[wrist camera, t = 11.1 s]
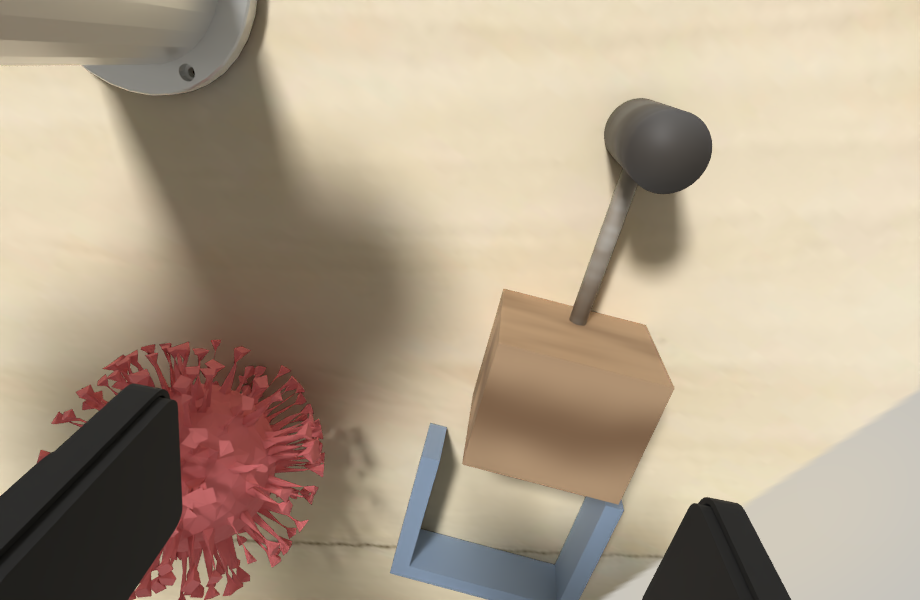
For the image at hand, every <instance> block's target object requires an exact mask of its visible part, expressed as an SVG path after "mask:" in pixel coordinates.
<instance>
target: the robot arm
mask: <svg viewBox="0 0 920 600" xmlns="http://www.w3.org/2000/svg"><path fill="white" fill-rule="evenodd" d="M256 6H257V0H0V66H50V65H81V66H83V67H84V68H85V69H86V70H87V71H89V72H90V73H92V74H94V75H95V76H97V77H99V78H100V79H102V80H104V81H105V82H107V83H109V84H111V85H114V86H116V87H119V88H122V89H124V90H127V91H130V92H134V93H140V94H145V95H151V96H154V95H174V94H180V93H187V92H191V91H194V90H196V89H199V88H201V87H204V86H206V85H208V84H210V83H211V82H213V81H214V80H215V79H217V78H218V77H220V76H221V75H222V74H224V73H225V72H226V71H227V69H228V68H229V67H230V66H231V65H232V64H233V63H234V61H235V60H236V59H237V58H238V56H239V54H240V53H241V51H242V49H243V47H244V45H245V43H246V42H247V40H248V38H249V35H250V31H251V28H252V25H253V22H254V18H255V15H256ZM193 69H194V72H195V76H194V75H193V72H192V71H193ZM182 507H183V506H182V484H181V462H180V441H179V419H178V404H177V402H176V401H175V400H172V399H170V395H169V393H168V391H167V390H165V389H160V388H155V387H150V386H145V385H140V384H135V383H133V384H129V385H128V386H127V387H125V388H124V389H123V390H122V391H121V392H120V393H118V394H117V395H116V396H115V397H114V398H113V399H112V400H111V401H110V402H108V403H107V404H106V405H105V406H104V407H103V408H102V409H101V410H100V411H99V412H97V413H96V414H95V415H94V416H93V417H92V418H91V419H90V420H89V421H88V422H86V423H85V424H84V425H83V426H82V427H81V428H80V429H79V430H78V431H77V432H75V433H74V434H73V435H72V436H71V437H70V438H69V439H68V440H67V441H65V442H64V443H63V444H62V445H61V446H60V447H59V448H58V449H57V450H56V451H54V452H52V453H50V454H48V455H47V456H46V457H44V458H43V459H41V460H40V461H39V462H38V463H37V464H36V465H35V466H34V467H32V468H31V469H30V470H29V471H28V472H27V473H26V474H25V475H24V476H22V477H21V478H20V479H19V480H18V481H17V482H16V483H15V484H14V485H12V486H11V487H10V488H9V489H8V490H7V491H6V492H5V493H3V494H2V495H1V496H0V600H128V599H129V597H130V596H131V594H132V593H133V591H134V590H135V589H136V587H137V586H138V584H139V583H140V581H141V580H142V578H143V577H144V575H145V574H146V572H147V571H148V569H149V568H150V566H151V565H152V563H153V562H154V560H155V559H156V557H157V556H158V554H159V553H160V551H161V550H162V549H163V547H164V546H165V544H166V543H167V541H168V540H169V538H170V537H171V535H172V534H173V532H174V531H175V529H176V527H177V525H178V523H179V521H180V518H181V514H182ZM642 600H791V598H790V597H789V595H788V593H787V591H786V589H785V587H784V585H783V583H782V582H781V579H780V577H779V575H778V574H777V572H776V570H775V568H774V566H773V564H772V562H771V560H770V558H769V556H768V555H767V553H766V551H765V549H764V547H763V545H762V543H761V541H760V539H759V537H758V535H757V533H756V531H755V529H754V527H753V526H752V524H751V522H750V520H749V518H748V516H747V514H746V512H745V510H744V509H743V508H742V506H741V505H739V504H738V503H734V502H729V501H724V500H719V499H713V498H708V497H705V498H703V499H701V501H700V502H699V503H698V504H695V503H693V504H692V505H691V506H690V507H689V509H688V511H687V512H686V514H685V516H684V518H683V520H682V522H681V524H680V526H679V528H678V530H677V532H676V534H675V536H674V538H673V540H672V542H671V544H670V546H669V547H668V549H667V551H666V553H665V555H664V557H663V559H662V561H661V563H660V565H659V567H658V569H657V571H656V573H655V575H654V577H653V579H652V581H651V582H650V584H649V586H648V588H647V590H646V592H645V594H644V596H643V599H642Z"/></svg>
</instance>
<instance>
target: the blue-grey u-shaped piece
mask: <svg viewBox="0 0 920 600" xmlns="http://www.w3.org/2000/svg"><path fill="white" fill-rule="evenodd" d="M446 429H447V427H444V426H440V425H436V424H432V423H430V426H429V430H428V433H427V437H426V441H425V444H424V448H423V452H422V456H421V459H420V463H419V467H418V470H417V474H416V478H415V481H414V485H413V489H412V492H411V496H410V500H409V504H408V507H407V511H406V515H405V518H404V522H403V526H402V529H401V533H400V537H399V541H398V544H397V548H396V552H395V556H394V560H393V564H392V567H391V571H390V573H391V574H395V575H398V576H402V577H406V578H410V579H413V580H417V581H421V582H425V583H428V584H432V585H436V586H440V587H443V588H447V589H451V590H454V591H458V592H462V593H466V594H469V595H473V596H477V597H481V598H484V599H488V600H579V598H580V596H581V595H582V593H583V591H584V589H585V587H586V585H587V583H588V581H589V579H590V577H591V575H592V573H593V571H594V569H595V567H596V565H597V563H598V561H599V559H600V557H601V555H602V553H603V551H604V549H605V547H606V545H607V543H608V541H609V539H610V537H611V535H612V533H613V531H614V529H615V527H616V525H617V523H618V521H619V519H620V517H621V515H622V513H623V511H624V509H623V504H622V500H621V501H620V503H619V505H618V504H614V503H610V502H606V501H602V500H598V499H594V498H591V497H587V496H586V497H585V500H584V502H583V504H582V506H581V508H580V511H579V513H578V515H577V517H576V519H575V522H574V524H573V526H572V528H571V530H570V533H569V535H568V537H567V539H566V541H565V544H564V546H563V548H562V550H561V552H560V555H559V557H558V559H557V561H556V563H555V565H554V564H550V563H546V562H543V561H539V560H535V559H531V558H528V557H524V556H520V555H516V554H513V553H509V552H505V551H502V550H498V549H494V548H490V547H487V546H483V545H479V544H475V543H472V542H468V541H464V540H461V539H457V538H453V537H449V536H446V535H442V534H438V533H434V532H431V531H427V530H423V529H420V527H421V524H422V521H423V517H424V514H425V510H426V507H427V503H428V500H429V496H430V493H431V490H432V486H433V483H434V479H435V476H436V472H437V469H438V466H439V462H440V458H441V453H442V448H443V444H444V439H445V434H446Z"/></svg>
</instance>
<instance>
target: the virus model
mask: <svg viewBox="0 0 920 600" xmlns="http://www.w3.org/2000/svg"><path fill="white" fill-rule="evenodd" d="M211 342H212V345H213V347H214V350H215V351H216V349H217V347H218V346H219V344H220V343H221V340H211ZM160 346H161V347H162V350H163V351H164V353H165V355H166V358H167V360H168V362H169V364H170V378H171V388H170V387H168V385H167V383H166V381H165V379H164V377H163V375H162V373H161V371H160V368H159V366H158V364H157V356H158V353H154V350H155V344H154V345H148V346H144V347H141V350H143V351H145V352H147V353H148V355H145V356H146V357H147V358H148V360H149V361H150V362H151V363H152V365H153V366H154V367H155V370H156V372H157V374H158V377H159V380H160V384H161V387H162V389H165V390H167V391H168V393H169V395H170V399H172V400H175V401H176V402H177V404H178V419H179V441H180V462H181V484H182V506H183V507H182V514H181V518H180V521H179V523H178V525H177V527H176V529H175V531H174V532H173V534H172V535H171V537H170V538H169V540H168V541H167V543H166V544H165V546H164V547H163V549H162V550H161V551H160V553H159V554H158V556H157V557H156V559H155V560H154V562H153V563H152V565H151V566H150V568H149V569H148V571H147V572H146V574H145V575H144V577H143V578H142V580H141V581H140V583H141V584H140V583H139V584H140V585H139V586H138V587H137V589H136V590H134V591H133V593H132V594H131V596H130V597H129V599H128V600H133V599H136V596H137V597H148V596H151V589H152V590H153V591H154V592H155V593H158V592H160V591H162V590H164V589H166V586H165V585H173V584H174V582H175V580H176V577H175V576H174V574H173V573H172V571H171V570H173V567H172V563H173V561H174V559H175V560H177V557H178V558H179V560H182V567H183V575H182V583H181V590H180V598H179V599H178V600H186V599H185V597H184V595H191V596H190V597H197V598H203V595H204V587H203V586H202V585H201V584H200V583H201V581H200V578H199V572H198V571H197V567H198V563H199V560H200V556H201V553H202V549H203V553H204V558H205V563H206V568H207V572H208V577H209V581H208V583H207V586H206V587H209V589H208V591H207V593H206V596H205V598H204V600H207V599H211V598H213V597H216V596H218V595H220V594H219V593H218V592H217V590H216V589H215V588H214V587H215V585H216V583H217V582H219V580H220V579H221V578H222V576H221V575H222V574H225V572H226V576H227V581H228V582H227V585H226V588H225V591H224V594H223V596H230V595H232V594H233V593H234V592H235V591H236V590H238V589H239V588H241V587H243V582H247V581H250V575H249V574H248V573H246V572H245V571H244V570H243V569H241V568H240V567H239V565H240V560H239V559H237V557H236V552H235V548H234V544H233V539H232V535H234V534H237V532H238V534H239V533H243V532H247V533H248V534H249V535H250V536H251V537H252V538H253V539H254V540H255V541H256V542H257V543H258V544H259V545H260V546H261V547H262V548H263V549H264V550H265V551H266V553H267V555H268V558H269V561H270V564H271V567H274V566H275V565H277V564H278V563H279V562H281V558H280V556H278V554H279V553H280V551H282V553H283V556H284V554H285V553H286V554H287V552H288V550H289V549H290V547H291V545H292V544H291V543H292V541H290V540H288V539H285V538H283V537H280V536H278V535H277V534H276V533H275V532H274V530H273V529H272V528H271V527H270V526H268V524H267V523H266V522H265V521H264V520H263V519H262V518H261V517H260V516H259V515H258V514H257V512H259V513H261V514H263V515H264V516H266V517H268V518H270V519H271V520H273V521H275V522H277V523H278V524H280V525H281V526H283V525H282V524H281V523H280V522H279V521H278V520H277V519H276V518H275V517H274V516H273V515H272V514H271V513H270V512H269V511H273V512H276V513H280V514H283V515H287V516H288V517H290V518H291V519H292V520H294V521H295V524H296V526H297V528H298V530H299V533H300V531H301V530H302V528H303V527H304V526H305V524H306V523H307V522H308V520H305V521H302V522H300V521H298V520H296V519H294V518H292V517H291V516H290V512H291V509H292V506H293V505H292V503H291V501H290V500H288V498H289V496H290V497H291V498H293V499H297V496H298V497H304V498H305V499H306V500H307V501H308V502H309V503H310V504H311V505H312V502H313V498H314V496H313V495H315V493H316V491H317V490H318V487H316V486H308V485H307V486H306V487H304V488H303V489H302V490H301V491H299V490H296V489H294V488H291V487H303V486H299V485H296V484H294V483H291V482H288V481H285V480H282V479H279V478H276V477H274V475H275V473H281V472H296V471H305V470H309V469H310V470H311V471H313V472H315V473H316V474H318V475H320V476H321V477H323V471H324V464H322V465H320V464H321V463H324V458H325V452H324V453H321V451H322V445H323V444H322V443H321V442H320V441H319V438H320V439H323V435H322V430H321V425H320V421H319V419H317V420H315V421H314V419H313V415H312V414H314V413H313V410H312V407H311V404H307V405H306V406H305V407H304V409H303V410H302V411H301V412H300V413H298V414H294V415H291V416H288V417H286V418H285V419H283V420H281V421H279V422H278V423H276V424H274V425H269V423H270V421H271V420H272V419H273V418H274V417H276V416H277V415H279V414H280V413H282V412H283V411H285V410H287V409H288V408H290V407H291V406H293V405H301V404H304V403H305V402H307V401H306V399H305V398H304V396H303V394H302V392H305V390H304V389H303V387H302V386H301V384H300V383H299V384H298V382H297V381H296V379H295V378H294V377H293V376H291V377H290V379H289V380H288V382H287V383H286V384H284V385H283V386H282V387H281V388H280V389H278V390H277V391H276V392H275V393H274V394H272V395H271V396H269V397H267V398H266V399H264V400H262V401H260V402H258V400H259V398H260V397H262V396H263V395H262V394H263V392H264V391H265V390H266V389H267V388H268V387H269V386H270V385H271V384H270V385H269V386H268V380H267V375H266V376H262V377H260V376H261V375H262V374H263V373H264V371H265V369H266V367H263V366H257V367H256V368H254V367H253V366H248V367H245V372H244V376H239V381H240V384H239V386H238V387H237V389H236V390H235V391H233V390H231V388H232V384H233V379H234V375H235V371H236V362H237V361H239V360H240V359H241V358H242V357H244V356H245V355H246V354H247V353H248V352H250V351H251V350H249V349H246V348H244V347H242V346H241V347H237V348H234V366H233V367H232V369H231V371H230V372H229V374H228V376H227V378H226V379H225V381H224V383H223V385H222V386H220V385H219V383H218V382H217V381H215V382H213V378H214V377H215V376H216V374H217V372H218V371H220V370H221V369H223V368H224V367H226V366H224V365H222V364H220V363H219V362H217V361H215V360H214V359H212V360H210V361H208V362H207V363H205V365H206V366H207V367H208V368H200V361H201V360H202V359H203V358H204V357H205V355H206V354H207V353H208V352H209V350H206V349H203V348H198V349H193V351H194V353H195V355H197V356H198V366H193V367H186V365H187V361H188V357H189V353H190V347H189V342H187V343H183V344H180V345H177V346H175V347H171V343H166V344H160ZM167 353H168V354H169V356H168V354H167ZM170 354H171V355H172V356H173V358H174V370H173V367H172V363H171V359H169V357H170ZM180 355H181V356H182V357H183V359H184V362H183V363H182V360H181V356H180ZM176 356H177V360H178V365H177V363H176V361H175V358H176ZM214 357H215V355H214ZM130 363H131V364H133V365H134V366H136V367H137V368H138V370H139V372H136V373H132V371H131V368H130ZM103 369H107V370H113V371H114V372H113V373H112V374H110V375H109V376H108V377H107V376H106V374H105V375H104V376H103V377H102V378H101V379H100V380H98V384H97V386H107V387H108V388H110V387H109V386H108V380H107V379H111V380H114V381H117V382H116V383H115V384H114V385H113V386H112V387H114V388H117V389H120V390H123V389H124V388H125V387H127V386H128V385H129V384H133V383H135V384H140V385H145V386H150V387H155V386H154V383H153V381H152V378H151V377H150V376H149V372H148V370H147V369H145V370H144V369H143V368H142V367H141V365H140V364H139V363H138V351H137V350H136V351H134V352H132V353H131V354H129V355H127V356H124V355H122V356H120V357H119V358H118V359H116V360H115V361H114V362H112V363H111V364H109V365H108V366H106V367H104V368H103ZM200 371H201V372H202V374H203V375H204V377H205V378H206V381H205V384H201V382H200V378H199V374H200ZM290 371H291V370H289V369H288V368H286V367H284V366H282V365H281V367H280V370H279V372H278V375H277V376H276V377H275V379H276V378H278V377H280V376H282V375H284V374H286V373H288V372H290ZM128 372H129V375H128ZM121 373H122V374H123V375H122V374H121ZM254 374H255V377H254V379H253V381H252V382H253V387H252V389H251V388H250V386H251V384H252V382H251V384H250V385H245V386H243V387H242V385H243V384H245V383H248V382H247V378H249V377H251V376H252V375H254ZM197 375H198V376H197ZM123 376H124V377H125V378H124V377H123ZM196 377H197V379H196V381H195V384H194V385H193V383H192V382H193V381H194V379H195V378H196ZM275 379H274V380H275ZM126 380H127V381H128V382H126ZM274 380H273V381H274ZM273 381H272V382H273ZM285 387H286V389H285V391H290V390H295V389H297V390H296V393H299V394H298V397H297V399H296V402H295V403H294V404H292V405H290V406H288V407H286V408H284V409H282V410H280V411H278V412H276V413H274V414H273V415H271V416H269V417H266V416H267V415H268V414H269V413H270V412H271V411H272V410H273V409H274V408H276V407H277V406H279V405H280V404H282V403H283V402H285V401H286V400H287V399H288V398H290V397H291V396H292V395H291V396H290V397H288V398H287V399H286V400H284V401H283V399H282V396H281V395H282V394H283V393H284V392H285V391H284V392H283V393H280V392H281V390H282V389H284V388H285ZM241 388H242V393H241V394H240V390H241ZM110 389H111V388H110ZM111 390H112V389H111ZM112 391H113V390H112ZM113 392H114V394H115V395H117V394H118V393H116V392H115V391H113ZM76 393H77V395H78V396H79V398H83V399H86V401H84V402H83V407H82V410H87V409H94V408H96V409H97V410H99V411H100V410H101V409H102V408H103V407H104V406H105V405H106V404H107V403H108V402H107V401H105V400H103V395H102V391H99V392H95V393H94V391H93V389H92V387H91V385H89V386H87V387H85V388H82V389H81V390H79V391H77V392H76ZM294 394H295V393H294ZM294 394H293V395H294ZM101 401H102V402H103V403H104V404H103V403H102V402H101ZM275 401H283V402H281V403H280V404H279V405H277V406H275V407H272V408H270V409H268V408H269V406H270V405H271V404H272V403H273V402H275ZM299 414H302V415H300V416H299V417H298V418H296V419H295V420H294V421H292V422H296V421H303V422H301V423H300V424H302V426H299V427H296V428H293V427H295V426H297V425H295V426H292V427H289V428H286V429H283V430H280V429H281V428H282V427H284V426H285V425H287V424H289V423H292V422H290V421H291V420H292V419H294V418H295V417H296V416H298V415H299ZM307 414H309V418H308V419H307ZM71 421H82V422H85V423H86V421H84V420H82V419H80V418H76V416H75V414H74V412H73V409H71V410H68V411H66V412H64V414H61V413H60V412H58V414H57V415H56V417H55V418H54V420H53V421H52V423H51V424H59V423H66V422H70V423H72V422H71ZM288 422H289V423H288ZM72 424H75V425H77V426H79V427H82V426H83V425H81V424H77V423H72ZM298 425H299V424H298ZM298 431H299V432H298ZM294 432H298V433H297V434H295V435H288V434H291V433H294ZM287 435H288V436H287ZM314 437H316V438H315V439H314ZM303 438H306V439H305V440H303V441H301V442H298V443H296V444H299V443H304V444H303V445H301V446H294V445H296V444H290V445H286V444H289V443H291V442H294V441H296V440H299V439H303ZM302 446H303V447H307V448H306V449H301V450H293V449H296V448H299V447H302ZM320 453H321V454H320ZM48 454H50V452H47V451H43V450H41V451H40V454H39V458H38V461H37V463H38V462H39V461H40V460H41V459H43V458H44V457H46V456H47V455H48ZM301 455H302V456H304V457H297V456H301ZM301 459H307V460H309V461H310V462H299V461H291V460H301ZM320 462H321V463H320ZM301 463H306V464H305V465H292V464H301ZM289 466H304V467H306V468H308V469H294V468H287V467H289ZM298 492H300V493H301V494H302V495H303V496H301V495H298ZM271 493H274V494H276V496H277V497H280V498H281V499H282V500H283V501H284V502H281V503H277V502H275V501H274V500H272V499H271V498H270V497H269V496H270V494H271ZM309 493H312V494H311V495H309ZM308 495H309V496H308ZM268 510H269V511H268ZM254 522H256V523H257V524H258V525H260V526H261V527H262V528H264V529H265V530H266V531H268V532H269V533H270V534H272V535H273V536H274V537H276V538H277V540H278V542H279V543H276V542H272V541H268V540H266V539H265V537H264V536H263V535H262V534H261V533H260V532H259V530H258V528H257V526H256V525H255V523H254ZM283 527H284V528H286V529H287V533H288V537H289V539H290V538H291V537H293V536H294V535H295V534H296V530H297V528H287V527H286V526H283ZM238 534H237V541H238V544H239V546H240V545H242V544H243V543H244V542H246V541H247V539H246V538H245V537H242V536H239V535H238ZM261 536H262V537H263V538H264V539H263V538H262V537H261ZM260 542H261V543H263V544H265V545H266V546H267V549H266V548H265V547H264V546H263V545H262V544H261V543H260ZM243 546H244V545H243ZM279 546H280V548H279ZM217 550H218V552H217ZM244 550H245V555H246V559H247V563H248V564H250V563H253V562H256V561H257V560H256V559H255V558H254V557H253V556H252V555H251V554H250V553H249V551H248V550H247V549H246V548H245V546H244ZM162 551H163V556H162V562H161V564H160V561H159V559H160V556H161V554H162ZM218 553H219V555H218ZM213 554H214V556H215V558H216V560H217V565H216V570H215V563H214V559H213ZM219 556H220V557H219ZM187 557H189V571H188V573H187V580H186V568H187ZM170 558H171V561H170ZM220 558H221V559H220ZM221 561H222V562H221ZM159 564H160V565H159ZM213 566H214V571H213ZM227 566H229V569H230V570H231V572H232V574H233V575H232V578H231V577H230V575H229V574H228V567H227ZM234 568H237V575H236V574H235V573H234V572H233V570H232V569H234ZM154 570H158V572H159V574H158V575H159V576H158V577H157V578H155V579H153V580H152V581H151V572H152V571H154ZM183 592H185V593H184V594H183Z"/></svg>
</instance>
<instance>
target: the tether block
mask: <svg viewBox="0 0 920 600" xmlns="http://www.w3.org/2000/svg"><path fill="white" fill-rule="evenodd" d="M604 139H605V144H606V147H607V150H608V151H609V153H610V154H611V155H612V156H613V158H614V159H615V160H616V161H617V162H618V163H619V164H620V165H621V166H622V168H623V169H622V172H621V174H620V177H619V180H618V183H617V186H616V188H615V191H614V194H613V197H612V200H611V203H610V205H609V208H608V211H607V214H606V217H605V219H604V222H603V225H602V228H601V231H600V233H599V236H598V239H597V242H596V245H595V247H594V250H593V253H592V256H591V259H590V262H589V264H588V267H587V270H586V273H585V276H584V278H583V281H582V284H581V287H580V290H579V292H578V295H577V298H576V301H575V304H574V306H569V305H565V304H561V303H558V302H554V301H550V300H546V299H542V298H538V297H534V296H530V295H526V294H523V293H519V292H515V291H511V290H507V289H503V293H502V296H501V299H500V303H499V306H498V310H497V313H496V317H495V320H494V324H493V327H492V331H491V334H490V337H489V341H488V344H487V348H486V351H485V355H484V358H483V362H482V365H481V369H480V372H479V375H478V379H477V382H476V386H475V389H474V393H473V398H472V404H471V411H470V417H469V424H468V430H467V437H466V443H465V450H464V456H463V462H462V464H463V465H467V466H471V467H475V468H479V469H482V470H486V471H490V472H494V473H498V474H502V475H506V476H509V477H513V478H517V479H521V480H525V481H529V482H533V483H537V484H540V485H544V486H548V487H552V488H556V489H560V490H564V491H567V492H571V493H575V494H579V495H583V496H587V497H591V498H594V499H598V500H602V501H606V502H610V503H614V504H618V505H619V503H620V501H621V499H622V497H623V494H624V492H625V490H626V488H627V486H628V484H629V482H630V480H631V478H632V476H633V474H634V472H635V469H636V467H637V465H638V463H639V461H640V459H641V457H642V455H643V453H644V451H645V449H646V447H647V444H648V442H649V440H650V438H651V436H652V434H653V432H654V430H655V428H656V426H657V424H658V422H659V419H660V417H661V415H662V413H663V411H664V409H665V407H666V405H667V403H668V401H669V399H670V397H671V394H672V392H673V390H674V386H673V384H672V382H671V379H670V377H669V375H668V373H667V371H666V368H665V366H664V364H663V362H662V360H661V357H660V355H659V353H658V351H657V349H656V346H655V344H654V342H653V340H652V338H651V335H650V333H649V331H648V329H647V327H646V325H643V324H639V323H635V322H632V321H628V320H624V319H620V318H616V317H612V316H608V315H604V314H600V313H597V312H593V311H591V309H592V307H593V304H594V301H595V298H596V296H597V293H598V290H599V288H600V285H601V282H602V280H603V277H604V274H605V272H606V269H607V266H608V264H609V261H610V258H611V256H612V253H613V250H614V247H615V245H616V242H617V239H618V237H619V234H620V231H621V229H622V226H623V223H624V221H625V218H626V215H627V213H628V210H629V207H630V205H631V202H632V199H633V197H634V194H635V191H636V188H637V186H638V185H639V186H640V187H642V188H643V189H645V190H647V191H650V192H653V193H657V194H670V193H675V192H678V191H681V190H683V189H685V188H687V187H689V186H690V185H692V184H693V183H694V182H695V181H696V180H698V179H699V178H700V176H701V175H702V174H703V172H704V171H705V169H706V168H707V166H708V164H709V161H710V158H711V153H712V140H711V135H710V132H709V130H708V128H707V126H706V125H705V124H704V122H703V121H702V120H701V119H700V118H698V117H697V116H695V115H694V114H692V113H689V112H686V111H683V110H680V109H677V108H674V107H671V106H668V105H665V104H662V103H659V102H655V101H652V100H649V99H643V98H639V99H633V100H630V101H627V102H625V103H623V104H622V105H620V106H619V107H618V108H616V109H615V110H614V112H613V113H612V114H611V115H610V117H609V119H608V121H607V123H606V126H605V131H604Z"/></svg>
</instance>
